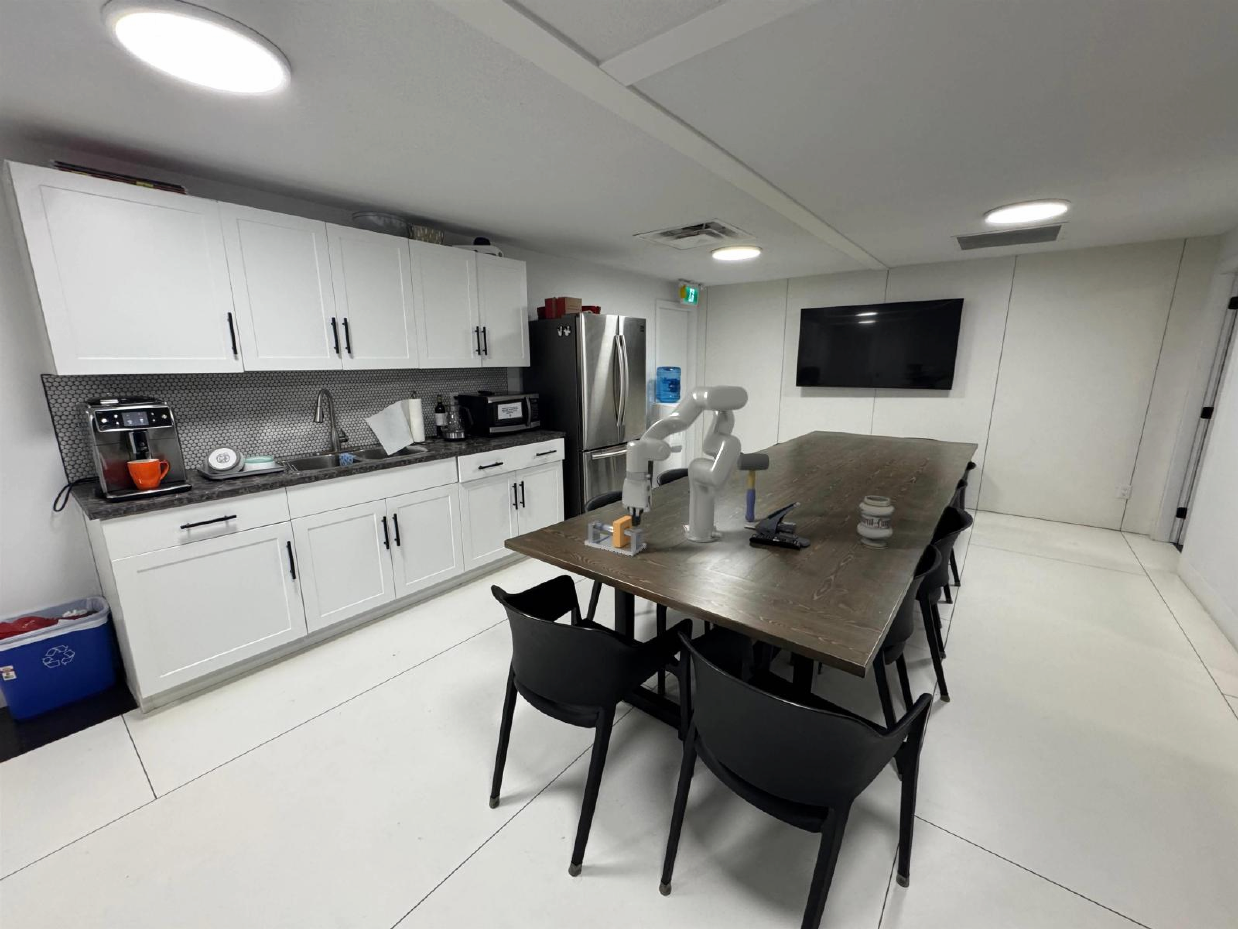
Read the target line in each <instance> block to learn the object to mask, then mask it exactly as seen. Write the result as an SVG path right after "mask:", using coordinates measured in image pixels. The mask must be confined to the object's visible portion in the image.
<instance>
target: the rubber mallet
mask: <svg viewBox="0 0 1238 929" xmlns="http://www.w3.org/2000/svg"><path fill="white" fill-rule="evenodd" d="M769 466H770V457H769V455H768V453H757V452H753V453H749V452H748V453H747V452H746V453H740V456H739V459H738V461H737V464H736V467H737V469H738V470H739V471H749V472H748V487H747V491H746V498H745V500H746V510H745V512H746V513H745V515H744V516H745V520H747V521H746V522H749V521H752V522H754V520H755V518H756V517H755V505H756V497H757V495H756V489H755V488H756V487H755V486H756V485H755V484H756V471H767V470H768V469H769V468H770V467H769Z"/></svg>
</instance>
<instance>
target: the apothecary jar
mask: <svg viewBox="0 0 1238 929" xmlns="http://www.w3.org/2000/svg"><path fill="white" fill-rule="evenodd" d="M858 509H859V511H860V512H861V518H860V522H859V523H858V524H857V526H856V531H857V532H858V533H859V535H861V536H862V537H864V538H860V539H859V540H858V544H859V545H862V546H863V547H865V548H869V549H874V550H884V549H887V548H888V546H889V545H888V543H887V542H886V541H883V540H887V539H889V538H890V537H892V536H893V535H894V529H893V528H892V527H891V516H892V515H894V513H895V510H896V508H895V507H894V506H893V505H892V504H891V499H890V498H889V497H886V496H880V495H867V496H864V499H863V501H861V503H859V504H858Z"/></svg>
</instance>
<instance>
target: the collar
mask: <svg viewBox="0 0 1238 929" xmlns="http://www.w3.org/2000/svg"><path fill="white" fill-rule="evenodd" d="M612 526H613V532H612V536H613V546H616V547H622V546H623V545H625V544H627V543H628V542H630V541H631V536H627V535H624V528H626V529H631V530H634V529H633V528H634V526H632V523H631V516H630V515H624V516H623V517H620V518H619V519H616V520H614V521H612Z"/></svg>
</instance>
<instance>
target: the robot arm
mask: <svg viewBox="0 0 1238 929" xmlns="http://www.w3.org/2000/svg"><path fill="white" fill-rule="evenodd" d="M748 401H749V394H748V392H747V390H746V389H745V387H742V386H738V385H716V386H706V385H705V386H702V385H701V386H695V387H692V389H690V391H688V393H687V394H686V395H685V396H684V398H683V399H682V400H681V401H680V402H679V403H678V404H677V406H676V407H674V409H673V410H672V412H671V413H669V414H667V415H666V416H664V417H662V418H661V419H660V420H658V421H657V422H655V423H654V424H653V425H651V426H649V428H648V429H647V430H646V431H645V432H644V434H643V435H642V436H641V438H640V439H638V440H637V439H635V440H629V441H628V442H627V444H626V474H625V475H626V477H625V478H624V482H623V485H622V495H621V497H622V498H621V500H622V508H624V509H626V510H627V511H628V512H629V514H630V515H631V516H630V515H629V516H630V517H631V523H632V526H633V527H639V526H640V525H641V524H642V523H641V522H642V518H641V517H642V515H643V513H649V512H651V508H650V507H651V506H652V503H653V496H652V486H651V484H652V483H651V480H650V478H651V475H652V474H650V473H649V470H648V469H649V468H648V467H649V461H650V462H663V461H666V460H667V459H669V458H670V457H671V454H672V447H671V445H670V444H669V443H668V442H666V440H664V439H666V438H667V437H669V436H672V435H674V434H677V433H681V432H684V431H686V430H688V429H689V428H691V426H693V424H694V422H696V420H697V419H698V418H699V417H700V416H701V414H702V413H704V411H711V412H712V421H711V423H710V426H709V427H708V429H707V432H706V435H705V437H704V440H703V442H702V445H701V449H702V450H701V451H702V452H703V453H704V454H705V455H706V456H709V457H712V458H715V460H714V459H712V458H711V459H710V458H707V457H696V458H693V459H692V460H691V461H690V463H689V465H688V467H687V468H688V469H687V475H688V480H689V481H688V482H689V511H688V514H689V515H688V516H689V518H688V519H689V521H688V530H687V531H685V532H684V537H685V538H686V540H689V541H691V542H695V543H711V542H714V541H715V542H716V540H717V539H718V538H722V539H723V537H724V532H723V531H722V530H718V529H717V526H716V525H714V524H715V504H716V503H715V501H716V499H715V498H716V493H715V492H716V491H715V488H723V487H724V486H726V485H727V483H728V482H729V481H730V479H731V477H732V474H733V473H734V471H735V468H736V467H737V461H738V459H739V456H740V454H742V453H741V452H742V443H741V440H740V439H739V438H738V437H737V436H735V435H733V434H732V432H733V429H734V427H735V421H736V420H735V419H736V418H735V414H734V411H737V410H740V409H743V408H744V407H745V406H746V405H747V403H748Z"/></svg>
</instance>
